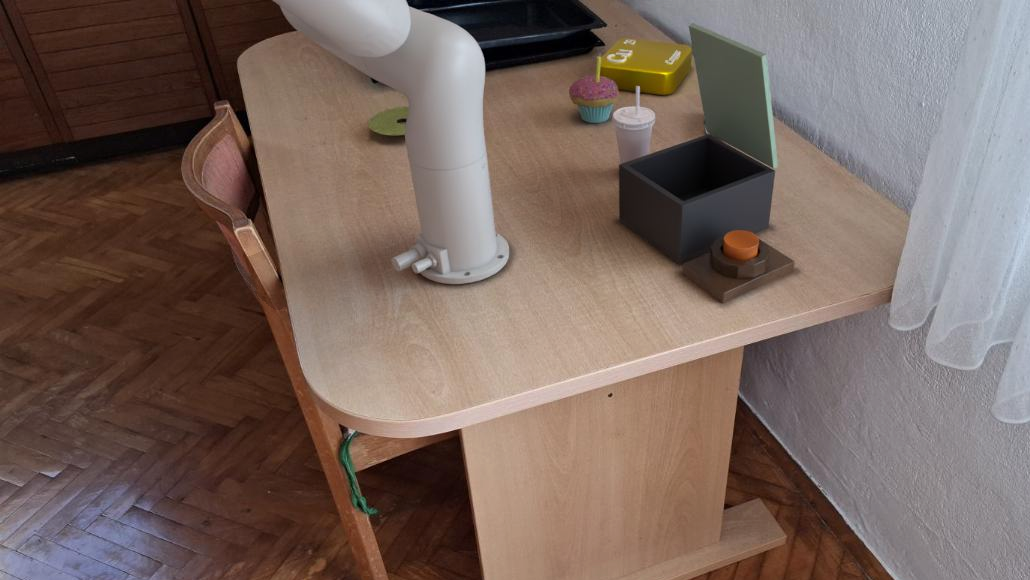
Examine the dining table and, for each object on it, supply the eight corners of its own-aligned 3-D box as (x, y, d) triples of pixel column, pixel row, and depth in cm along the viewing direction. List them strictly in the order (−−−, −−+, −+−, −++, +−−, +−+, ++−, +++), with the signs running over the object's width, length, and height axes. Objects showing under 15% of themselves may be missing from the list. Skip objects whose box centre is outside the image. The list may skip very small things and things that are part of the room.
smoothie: (650, 185, 129) (652, 96, 120) (609, 181, 130) (607, 93, 122) (657, 165, 134) (659, 79, 125) (616, 162, 135) (616, 76, 126)
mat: (417, 149, 140) (415, 138, 139) (357, 140, 143) (355, 129, 142) (448, 120, 148) (446, 110, 147) (391, 113, 151) (389, 102, 150)
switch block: (722, 303, 106) (725, 280, 103) (682, 274, 111) (683, 250, 108) (793, 271, 111) (797, 248, 108) (751, 244, 116) (754, 221, 114)
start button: (738, 265, 106) (739, 252, 105) (715, 250, 109) (716, 237, 108) (764, 254, 108) (766, 241, 107) (741, 239, 111) (742, 226, 110)
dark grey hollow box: (679, 265, 112) (682, 206, 107) (618, 221, 121) (618, 164, 116) (768, 228, 119) (775, 170, 114) (704, 188, 128) (708, 133, 122)
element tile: (671, 97, 154) (672, 71, 151) (593, 87, 158) (593, 62, 155) (693, 67, 165) (694, 42, 162) (620, 58, 169) (620, 34, 166)
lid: (761, 57, 101) (766, 54, 101) (688, 25, 110) (693, 22, 110) (773, 169, 113) (778, 166, 113) (706, 132, 122) (710, 129, 122)
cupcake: (628, 119, 147) (629, 50, 140) (588, 132, 144) (585, 62, 136) (600, 103, 153) (599, 36, 145) (560, 115, 149) (557, 47, 142)
